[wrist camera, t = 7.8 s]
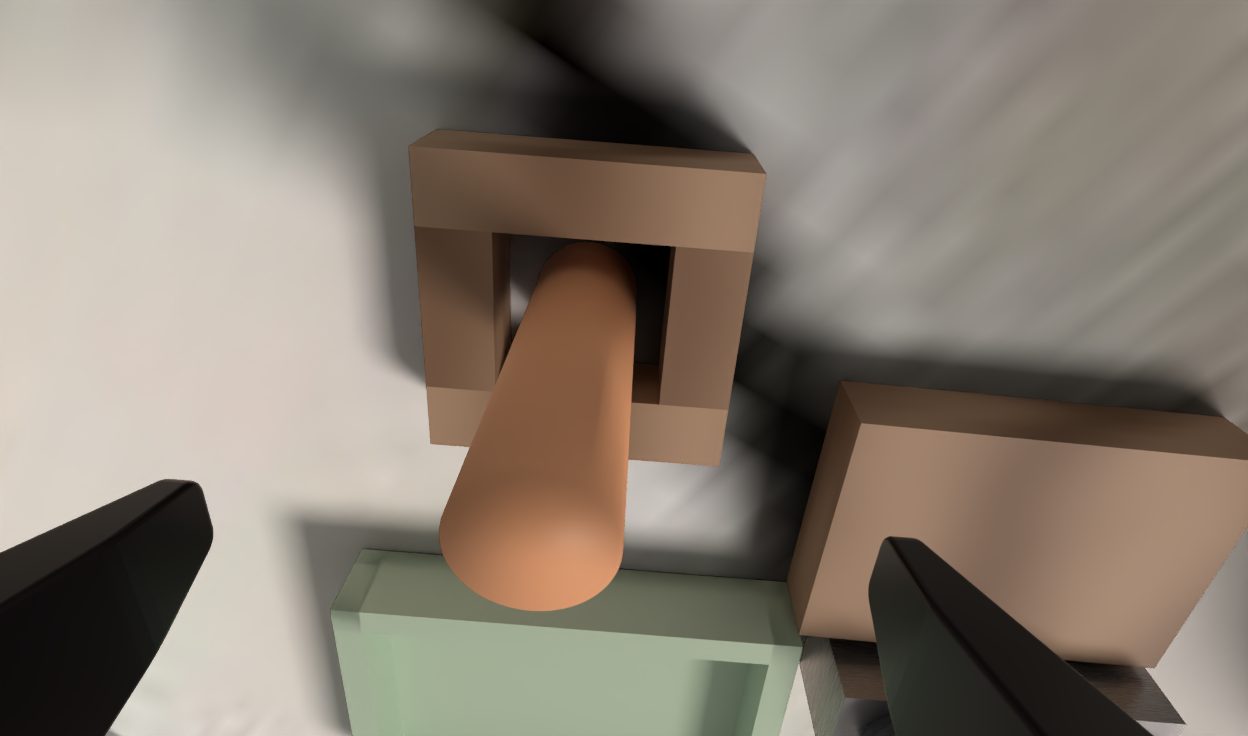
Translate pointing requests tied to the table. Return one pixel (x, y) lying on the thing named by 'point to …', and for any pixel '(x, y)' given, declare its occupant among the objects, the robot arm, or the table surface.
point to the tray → (562, 655)
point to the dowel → (552, 444)
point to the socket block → (592, 210)
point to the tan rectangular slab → (1025, 512)
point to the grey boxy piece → (858, 709)
